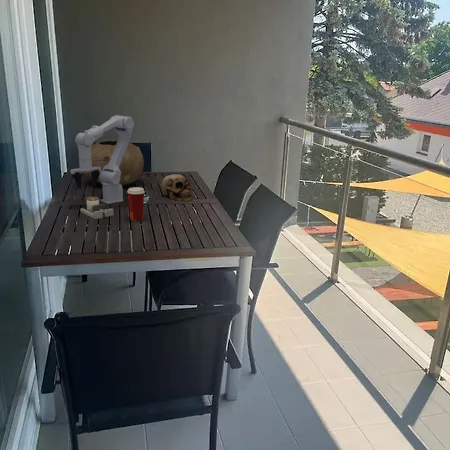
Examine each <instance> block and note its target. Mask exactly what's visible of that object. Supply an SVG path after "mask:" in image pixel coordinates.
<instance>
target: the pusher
mask: <svg viewBox="0 0 450 450" xmlns="http://www.w3.org/2000/svg"><path fill="white" fill-rule="evenodd" d="M106 209H107V203H104V202H103V203H99V204H98V205H92V212H96V211H103V215H104V213H105V214H108V212H106V211H104V210H106Z"/></svg>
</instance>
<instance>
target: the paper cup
mask: <svg viewBox="0 0 450 450" xmlns="http://www.w3.org/2000/svg"><path fill="white" fill-rule="evenodd" d="M126 192H127V196H128V209H129V219H130V221H133V222H140V221H143V219H144V203H145V192H146V191H145V190H144V188H143V187H129V188H128V189H127V191H126Z"/></svg>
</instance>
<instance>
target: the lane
mask: <svg viewBox="0 0 450 450" xmlns="http://www.w3.org/2000/svg"><path fill="white" fill-rule="evenodd" d="M104 211H106V212H108V214H105V213H104V214H103V211H96V212H93V213H91V212H89V211H87V209H85V208H80V213H81V214H84V215H86V216H87V217H90V218H92V219H94V220H96V219H102V218H104V217H105V218H107V217H113V216H114V208H108V209H107V208H106V210H104Z"/></svg>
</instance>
